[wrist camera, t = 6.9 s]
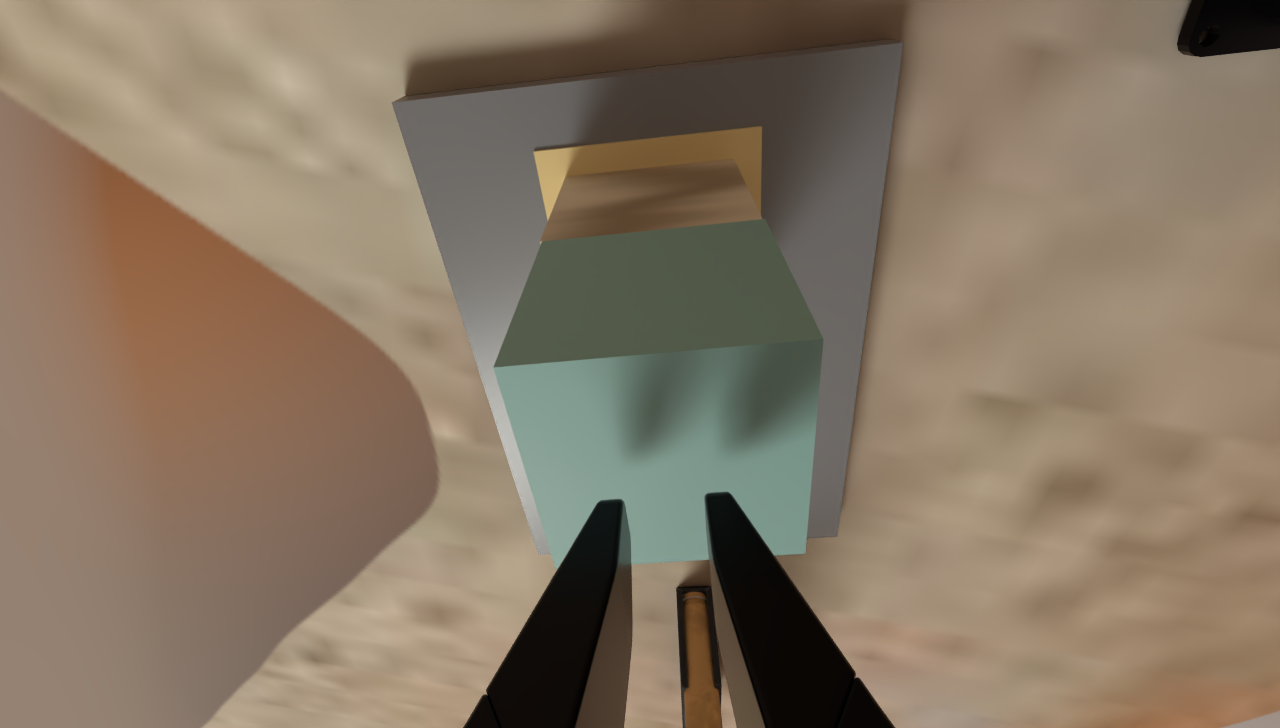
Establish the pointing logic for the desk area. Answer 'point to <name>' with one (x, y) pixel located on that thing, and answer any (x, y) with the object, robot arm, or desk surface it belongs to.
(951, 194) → the desk surface
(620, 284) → the teal block
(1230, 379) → the desk surface
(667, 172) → the maple block
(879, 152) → the grey flat plate
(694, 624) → the ammunition clip
